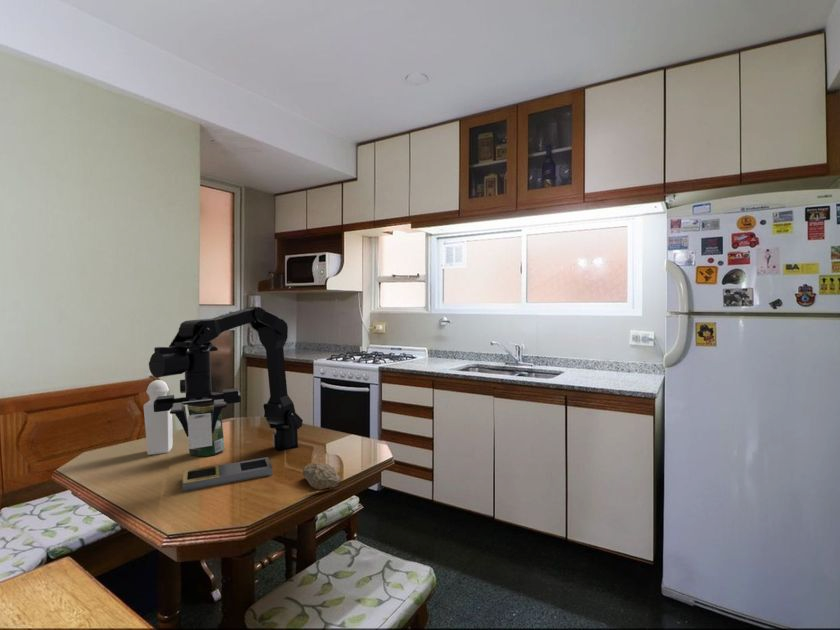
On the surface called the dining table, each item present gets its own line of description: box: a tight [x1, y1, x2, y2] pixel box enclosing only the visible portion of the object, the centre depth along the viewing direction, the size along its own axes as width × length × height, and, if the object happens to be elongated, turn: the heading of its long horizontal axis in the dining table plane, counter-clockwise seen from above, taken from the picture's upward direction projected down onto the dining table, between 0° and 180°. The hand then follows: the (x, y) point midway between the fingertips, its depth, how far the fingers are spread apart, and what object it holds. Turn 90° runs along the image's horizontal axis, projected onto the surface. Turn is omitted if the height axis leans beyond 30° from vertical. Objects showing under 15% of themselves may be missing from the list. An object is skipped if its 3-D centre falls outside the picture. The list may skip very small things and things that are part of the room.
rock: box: [302, 462, 341, 490], centre depth 105 cm, size 8×11×4 cm
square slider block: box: [187, 413, 212, 450], centre depth 107 cm, size 5×5×7 cm
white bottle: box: [143, 379, 173, 456], centre depth 134 cm, size 6×6×22 cm
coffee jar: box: [186, 391, 225, 458], centre depth 131 cm, size 10×8×19 cm
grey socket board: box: [181, 456, 273, 492], centre depth 110 cm, size 20×9×3 cm, turn 116°
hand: (200, 434), depth 107 cm, fingers closed on square slider block, 5 cm apart
